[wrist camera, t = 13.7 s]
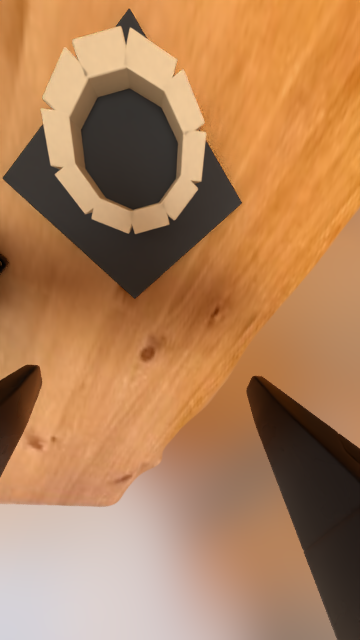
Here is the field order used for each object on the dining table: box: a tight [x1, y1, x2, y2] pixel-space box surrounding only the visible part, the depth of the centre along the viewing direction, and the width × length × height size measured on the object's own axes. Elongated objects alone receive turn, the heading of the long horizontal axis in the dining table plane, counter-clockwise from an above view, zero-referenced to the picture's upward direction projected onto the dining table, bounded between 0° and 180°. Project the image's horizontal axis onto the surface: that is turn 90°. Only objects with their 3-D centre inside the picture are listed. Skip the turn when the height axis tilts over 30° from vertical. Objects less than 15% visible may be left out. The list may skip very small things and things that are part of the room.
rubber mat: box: [3, 9, 242, 298], centre depth 16 cm, size 12×12×1 cm
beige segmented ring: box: [41, 26, 206, 234], centre depth 13 cm, size 9×9×2 cm
